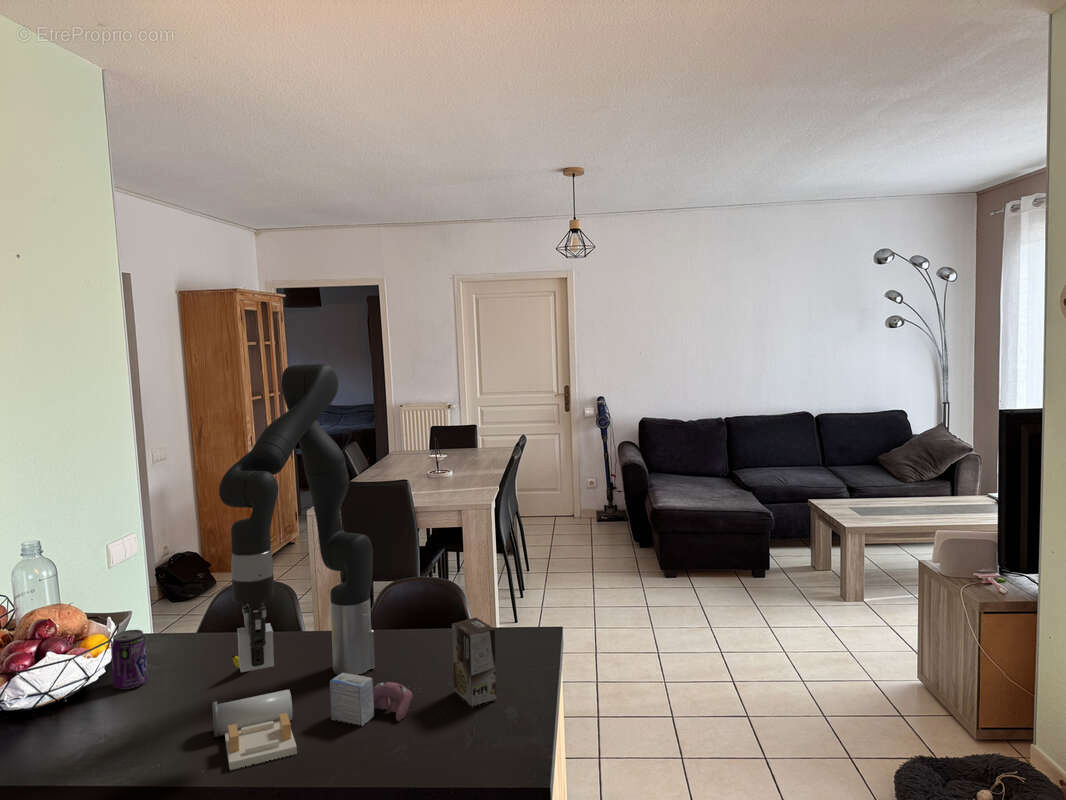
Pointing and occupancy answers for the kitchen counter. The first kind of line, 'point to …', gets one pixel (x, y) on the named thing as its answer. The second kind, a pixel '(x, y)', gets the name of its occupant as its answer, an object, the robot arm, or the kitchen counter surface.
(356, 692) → the medicine box
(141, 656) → the beverage can
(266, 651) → the grey box with knob
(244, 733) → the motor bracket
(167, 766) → the kitchen counter surface
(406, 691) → the video game controller
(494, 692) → the coffee box
